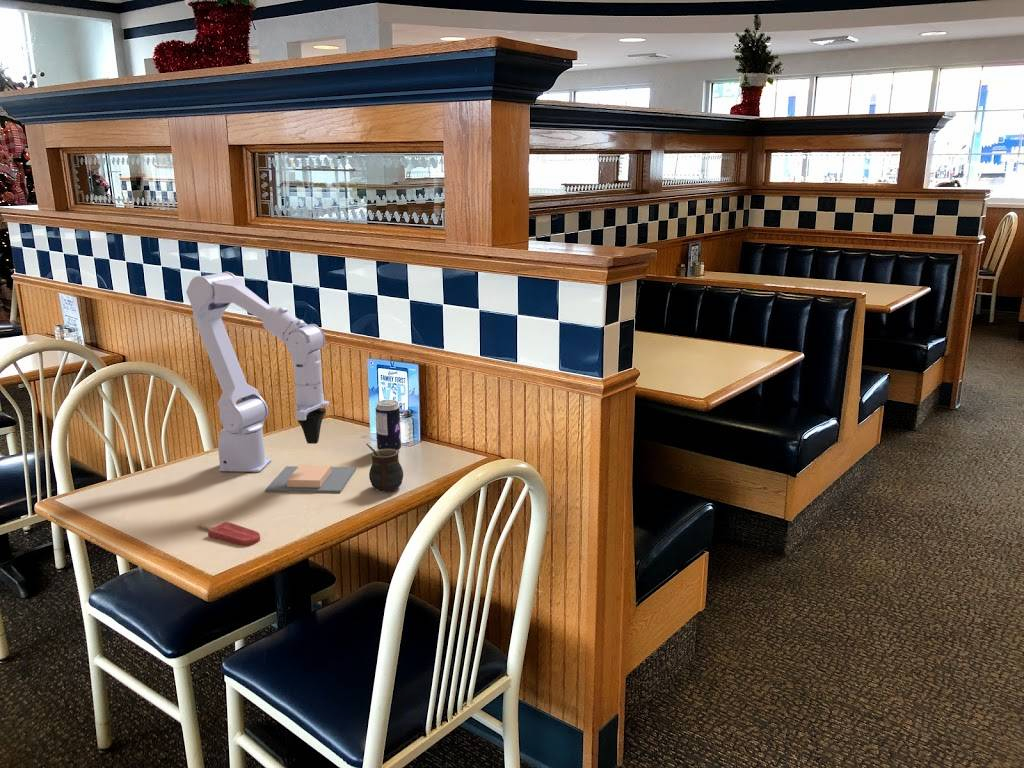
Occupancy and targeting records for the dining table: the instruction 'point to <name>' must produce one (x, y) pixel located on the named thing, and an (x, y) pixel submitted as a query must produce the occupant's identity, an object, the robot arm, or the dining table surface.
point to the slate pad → (331, 485)
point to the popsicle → (232, 533)
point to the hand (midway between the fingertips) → (312, 442)
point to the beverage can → (388, 425)
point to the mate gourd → (385, 470)
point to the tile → (309, 476)
